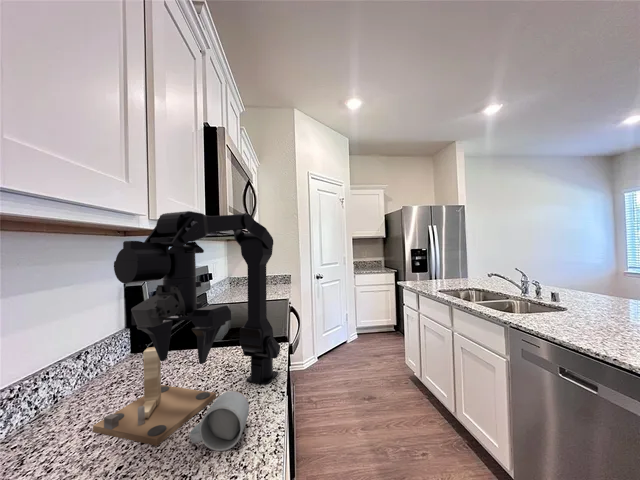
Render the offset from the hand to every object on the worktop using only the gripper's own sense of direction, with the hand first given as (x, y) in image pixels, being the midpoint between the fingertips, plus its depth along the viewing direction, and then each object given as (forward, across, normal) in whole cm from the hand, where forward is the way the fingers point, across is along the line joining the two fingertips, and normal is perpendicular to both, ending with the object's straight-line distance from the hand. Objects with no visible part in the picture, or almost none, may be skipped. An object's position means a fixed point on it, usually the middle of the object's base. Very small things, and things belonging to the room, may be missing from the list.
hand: (182, 361), depth 54 cm
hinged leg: (+12, -14, +5) cm, 20 cm away
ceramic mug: (+15, +5, +4) cm, 16 cm away
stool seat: (+14, -13, +6) cm, 20 cm away
